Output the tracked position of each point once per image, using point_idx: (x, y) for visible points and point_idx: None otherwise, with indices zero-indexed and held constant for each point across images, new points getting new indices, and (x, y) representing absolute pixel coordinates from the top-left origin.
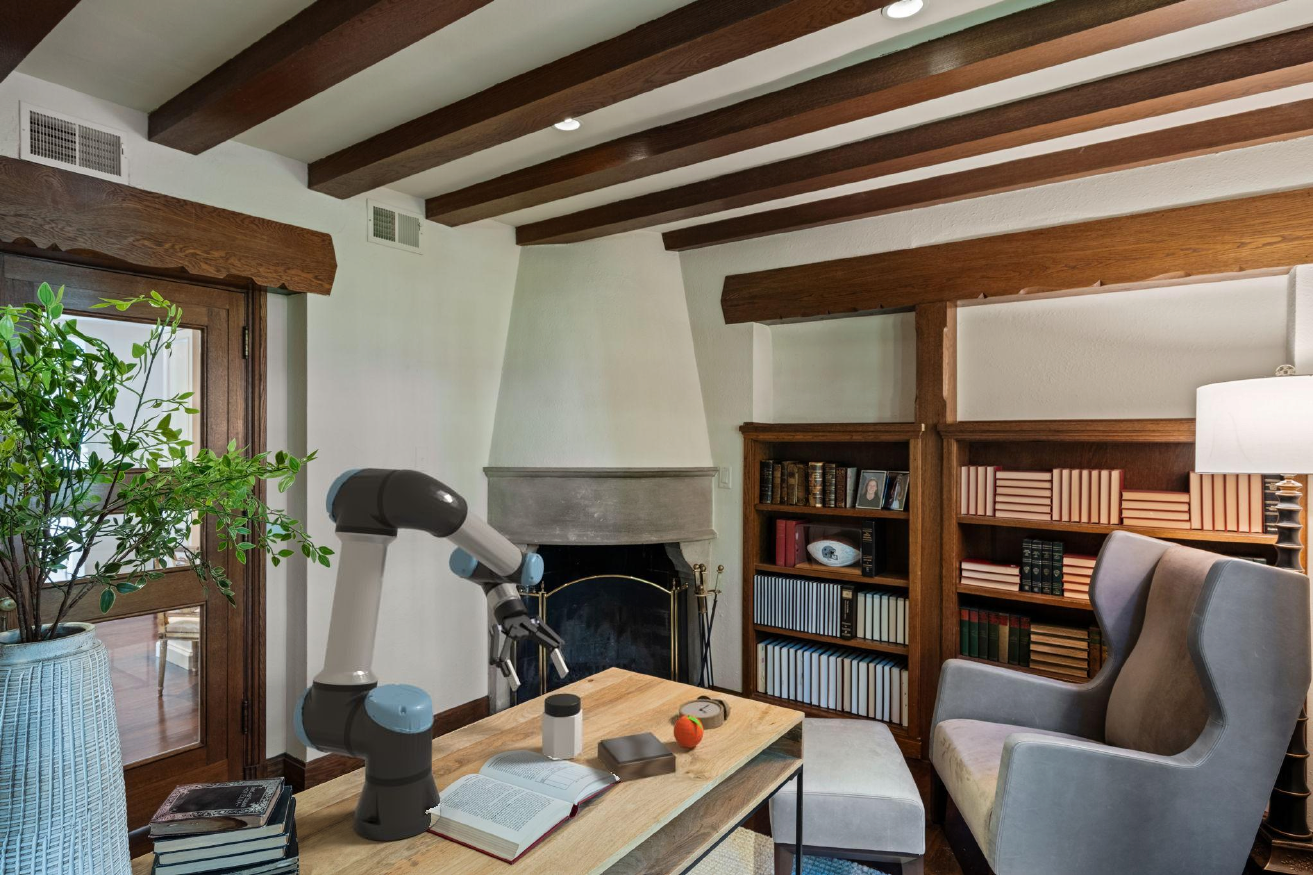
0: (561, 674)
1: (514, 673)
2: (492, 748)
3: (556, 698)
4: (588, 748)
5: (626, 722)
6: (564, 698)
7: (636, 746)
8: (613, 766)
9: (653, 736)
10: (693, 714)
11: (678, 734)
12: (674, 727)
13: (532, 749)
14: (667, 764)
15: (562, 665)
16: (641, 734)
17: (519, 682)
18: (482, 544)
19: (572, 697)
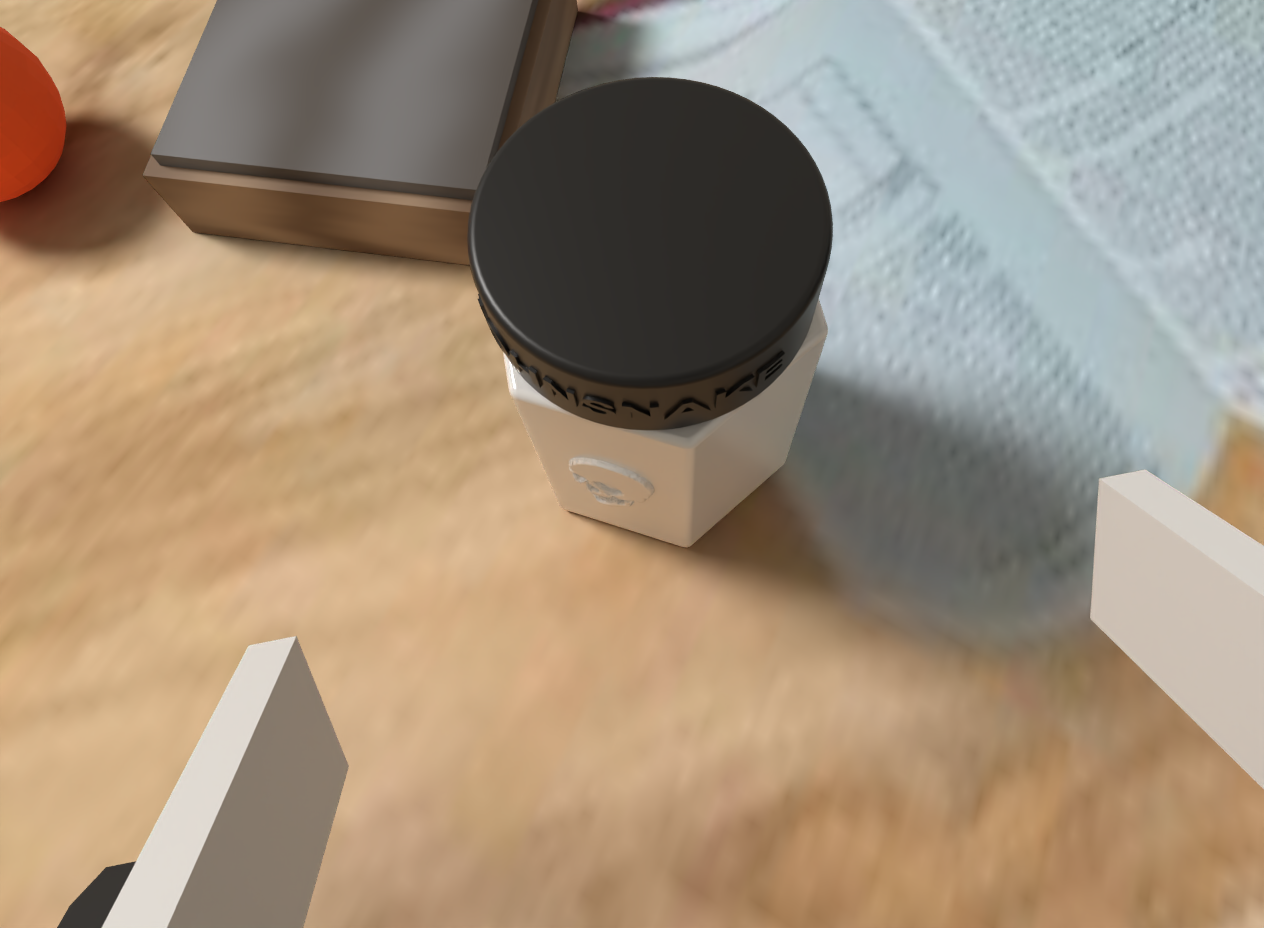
0: (327, 756)
1: (1251, 566)
2: (1075, 742)
3: (692, 264)
4: (487, 405)
5: (11, 662)
6: (622, 227)
7: (358, 36)
8: (558, 18)
9: (185, 99)
10: None
11: (42, 83)
12: (1, 117)
13: (812, 572)
14: None
15: (261, 727)
16: (219, 151)
17: (1117, 493)
18: None
19: (539, 216)
